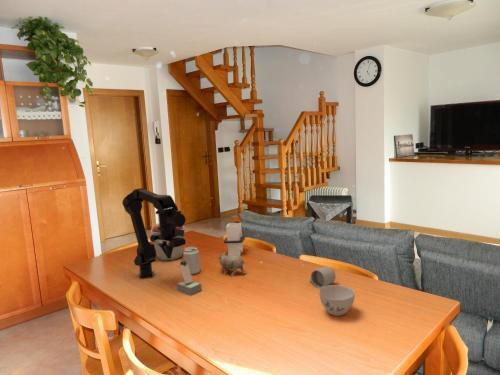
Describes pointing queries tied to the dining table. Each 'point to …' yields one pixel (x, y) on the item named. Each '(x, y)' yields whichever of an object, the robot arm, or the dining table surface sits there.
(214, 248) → the dining table surface
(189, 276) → the toggle lever
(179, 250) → the canister
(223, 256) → the rhinoceros figurine
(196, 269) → the can
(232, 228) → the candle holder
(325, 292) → the teacup
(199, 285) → the switch box
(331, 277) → the ceramic mug
